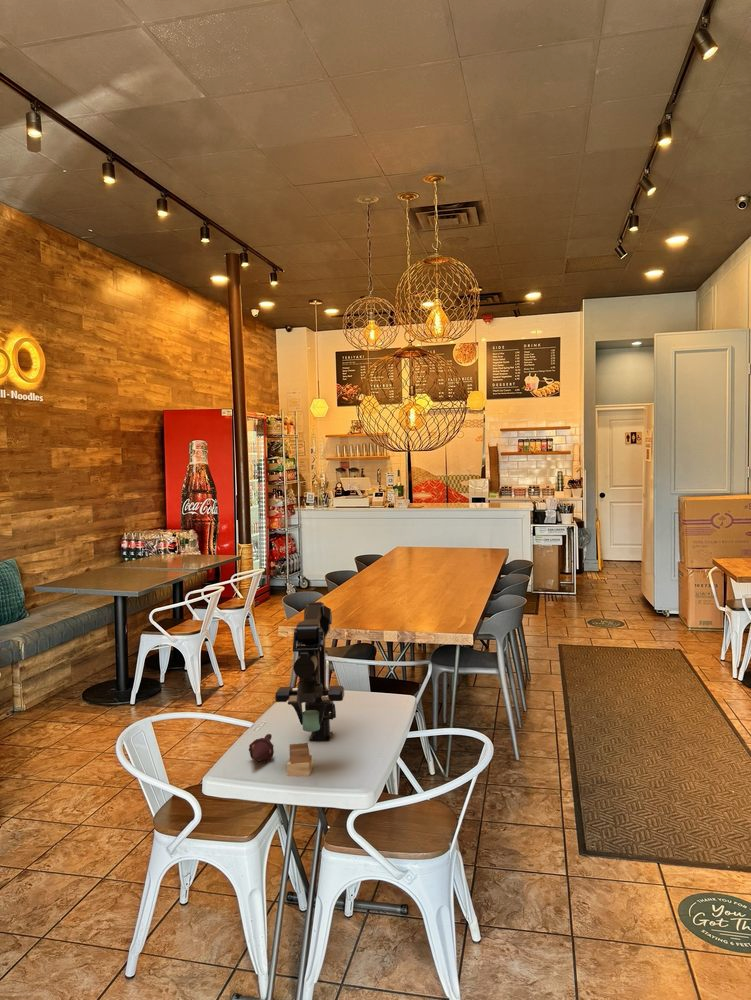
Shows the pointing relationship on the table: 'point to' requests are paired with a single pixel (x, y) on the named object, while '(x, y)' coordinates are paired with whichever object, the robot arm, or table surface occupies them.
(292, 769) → the tower base
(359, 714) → the table surface
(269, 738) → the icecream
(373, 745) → the table surface
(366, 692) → the table surface
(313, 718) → the sage green cylinder
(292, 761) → the tower top
